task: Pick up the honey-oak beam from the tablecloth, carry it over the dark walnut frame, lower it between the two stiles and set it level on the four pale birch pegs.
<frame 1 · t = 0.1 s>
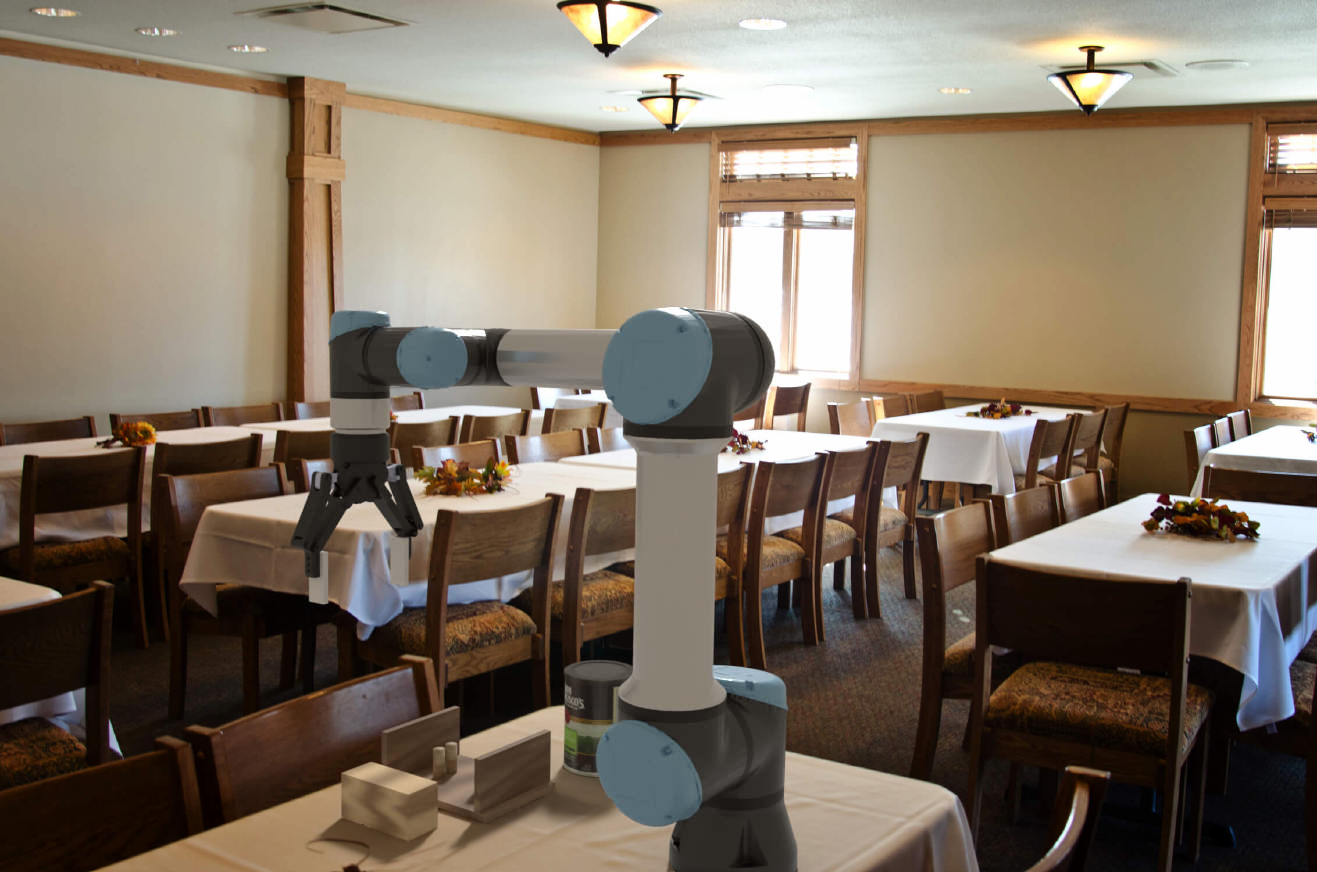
hand: (360, 593, 153), 28 cm above the table, tool pointing down, fingers open, 13 cm apart
coffee can: (598, 766, 170), on the table
beam: (389, 823, 149), on the table
peg frame: (466, 788, 160), on the table
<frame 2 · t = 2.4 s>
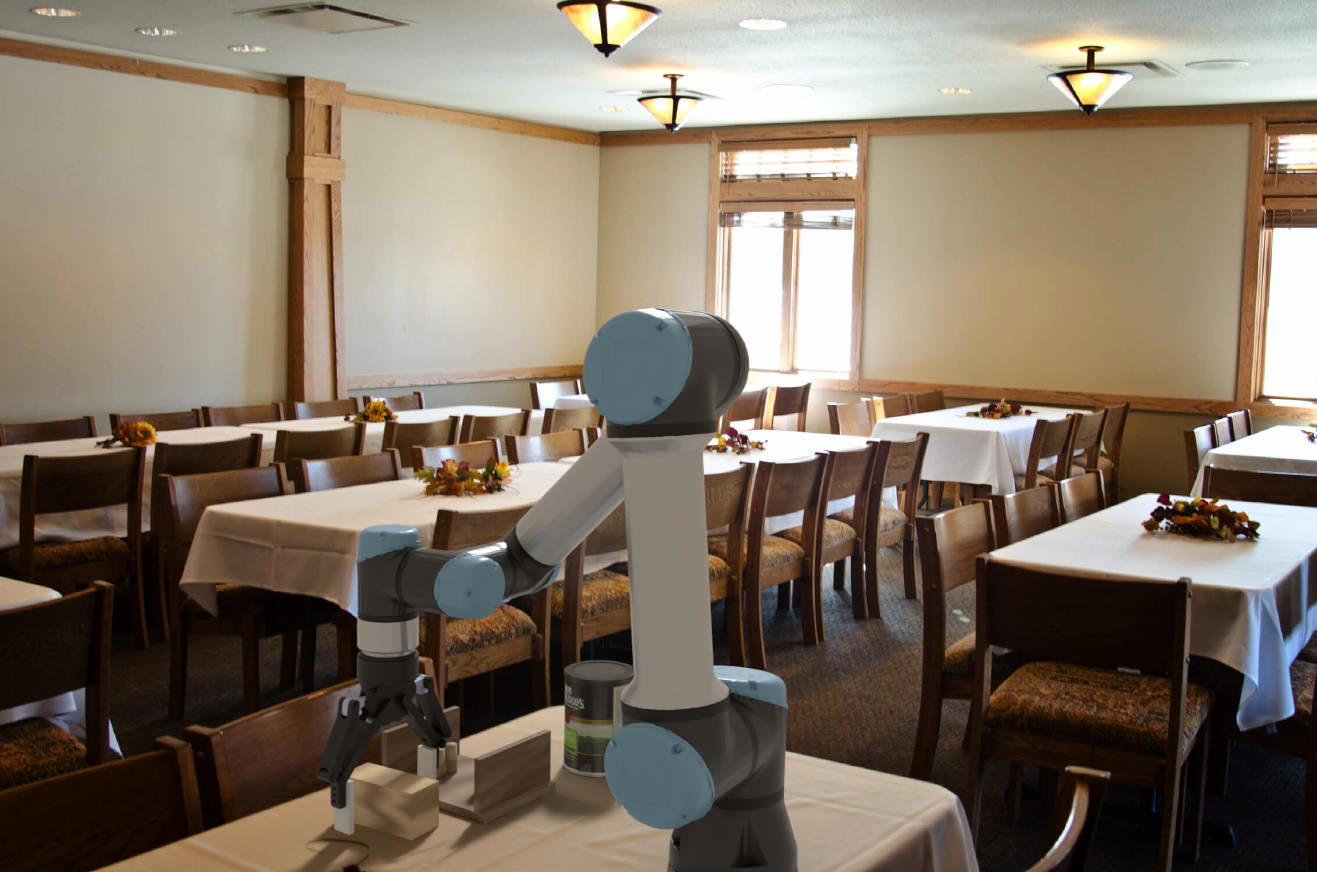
hand: (386, 813, 149), 1 cm above the table, tool pointing down, fingers open, 13 cm apart
nothing on the table moved.
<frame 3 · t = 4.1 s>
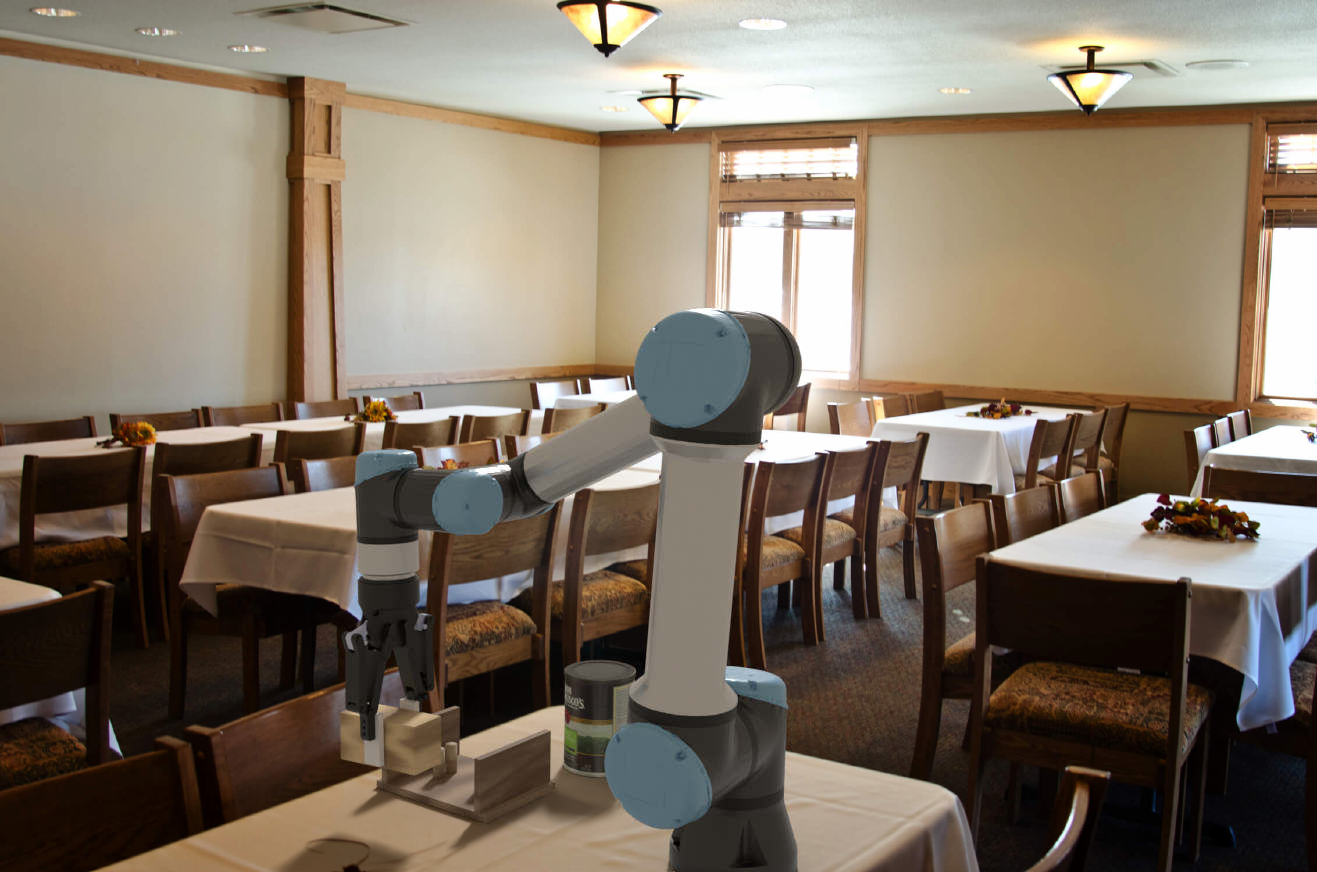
hand: (392, 756, 148), 9 cm above the table, tool pointing down, fingers closed on beam, 5 cm apart
beam: (390, 760, 148), point 8 cm above the table, touching gripper
everything else where it was.
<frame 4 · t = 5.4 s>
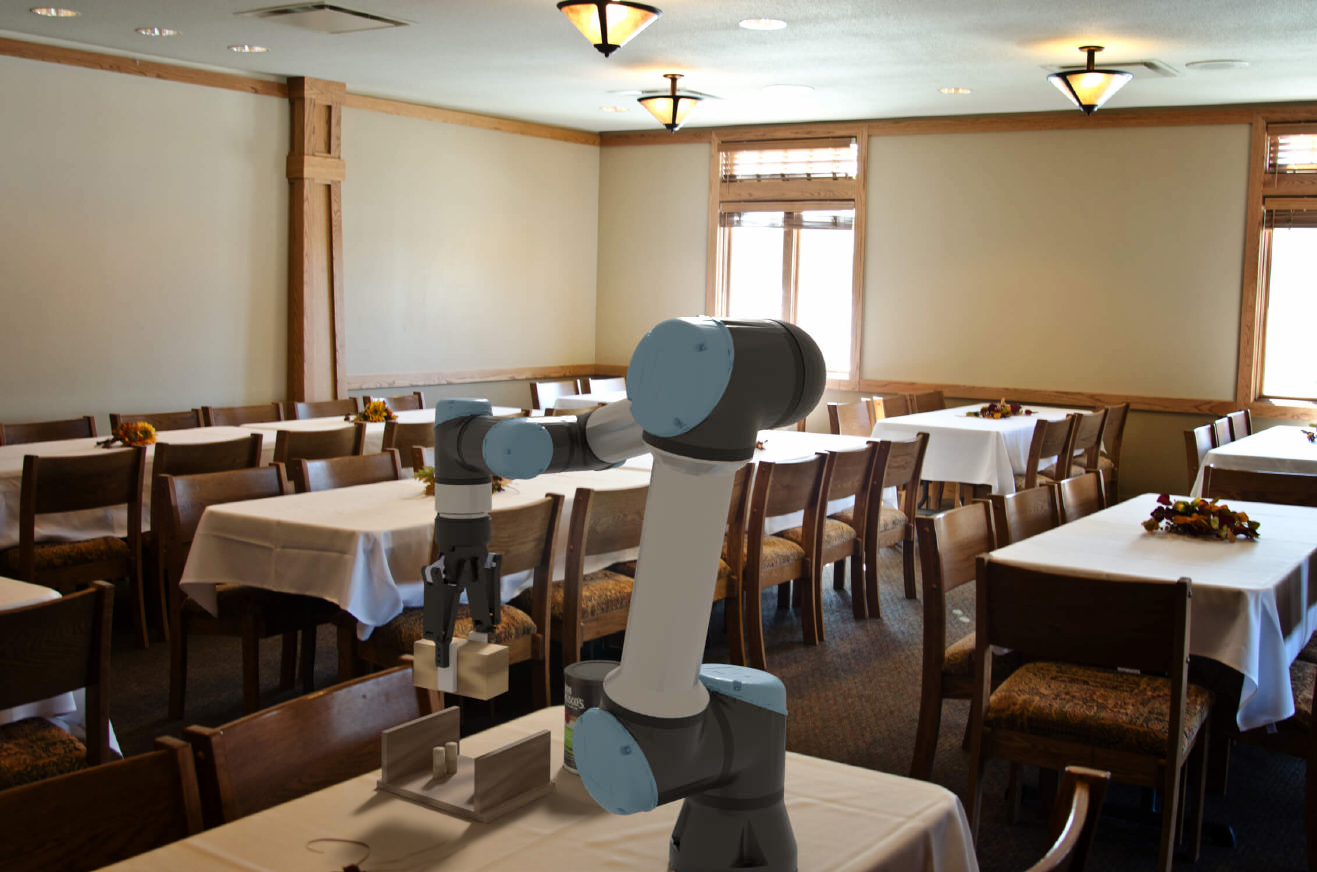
hand: (462, 684, 158), 15 cm above the table, tool pointing down, fingers closed on beam, 5 cm apart
beam: (460, 687, 159), point 14 cm above the table, touching gripper
everything else where it was.
when the fingers open (5 cm above the table, at t = 7.1 s): beam stays where it is, resting on peg frame.
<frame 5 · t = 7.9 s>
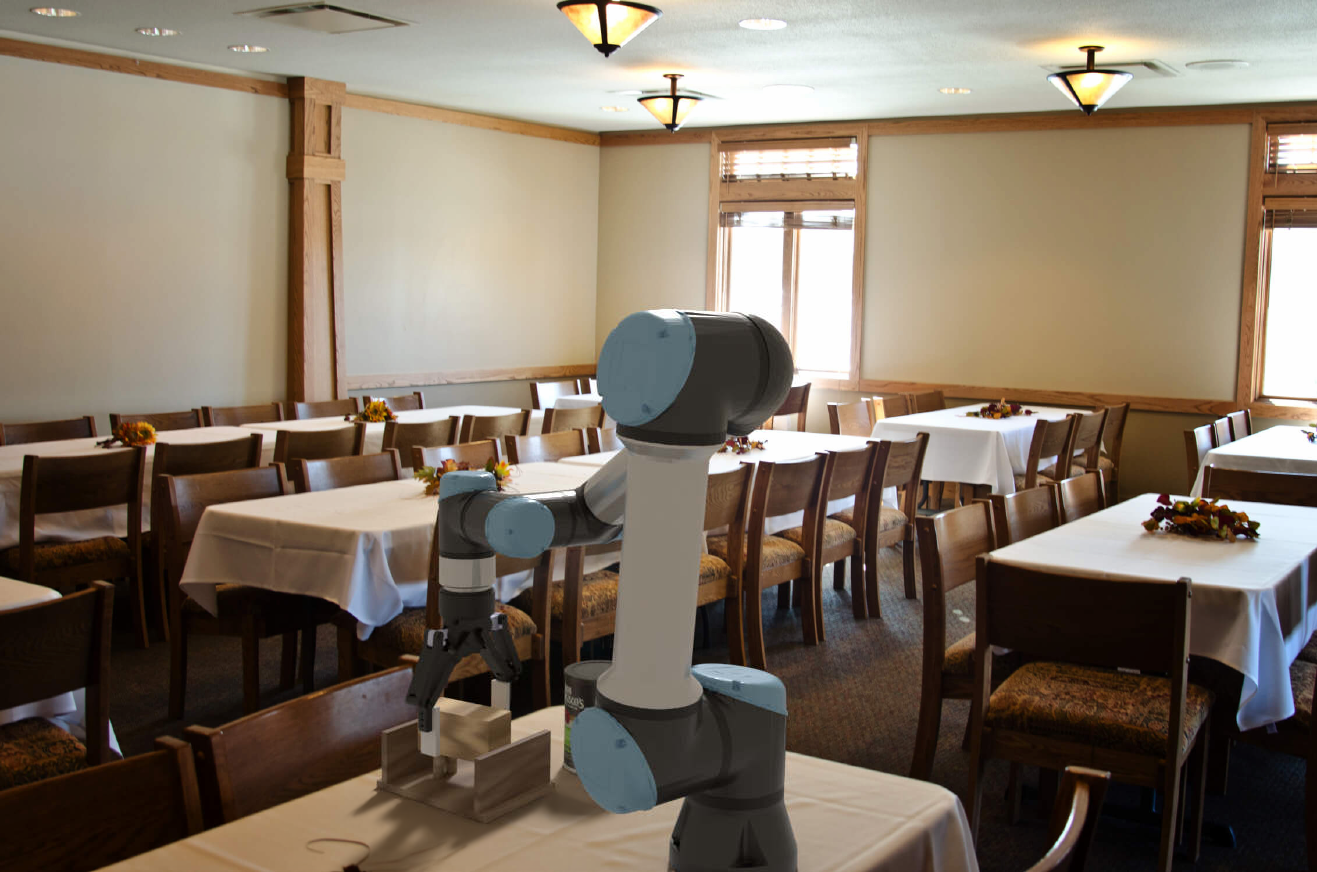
hand: (466, 740, 160), 7 cm above the table, tool pointing down, fingers open, 13 cm apart
beam: (464, 751, 160), point 5 cm above the table, touching peg frame
everything else where it was.
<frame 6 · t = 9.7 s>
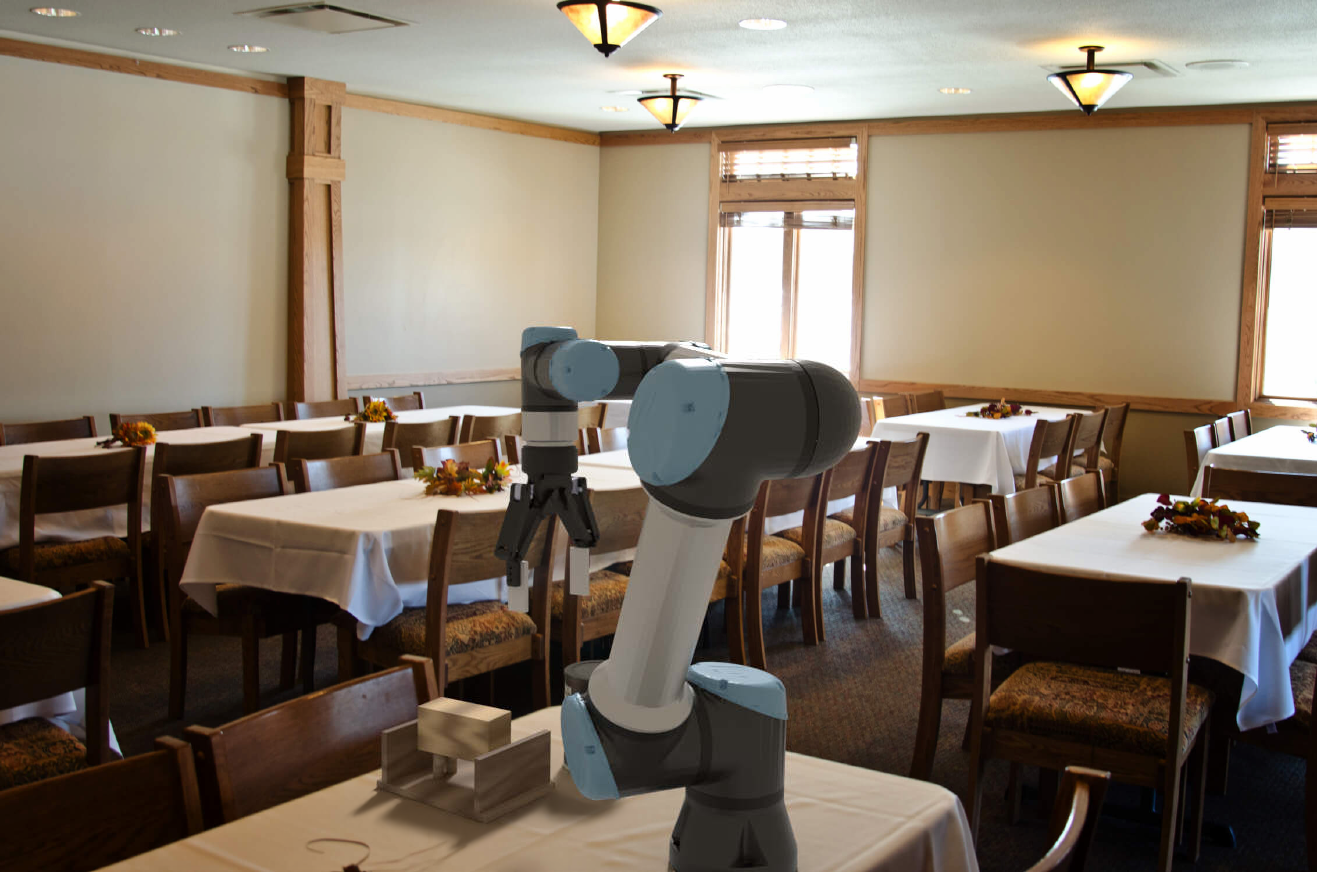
hand: (549, 602, 157), 26 cm above the table, tool pointing down, fingers open, 13 cm apart
nothing on the table moved.
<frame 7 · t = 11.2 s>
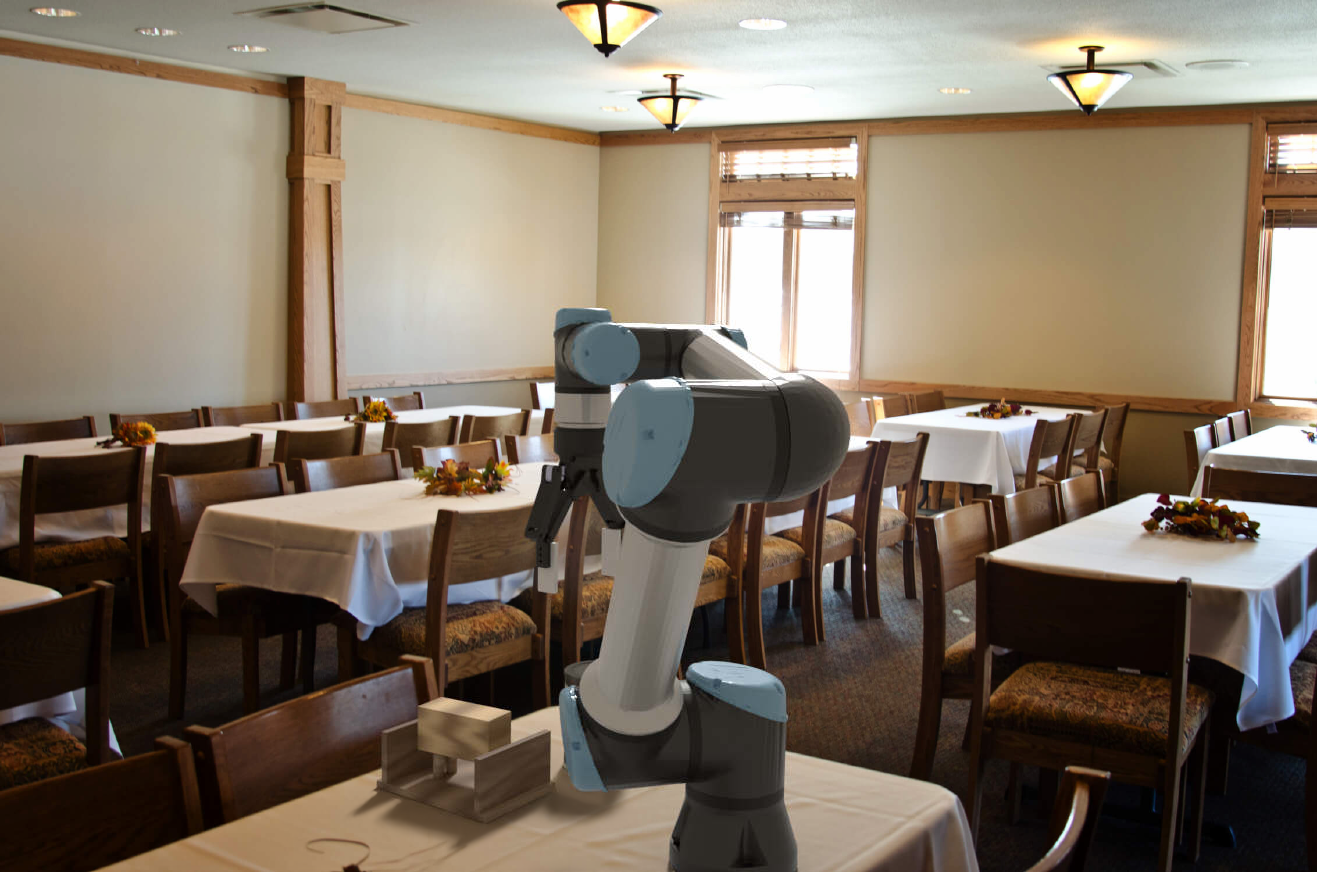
hand: (580, 583, 157), 29 cm above the table, tool pointing down, fingers open, 13 cm apart
nothing on the table moved.
at the end: beam 0.5 cm off-centre on the peg frame, point 5.0 cm above the peg frame's base; beam tilted 0°; the gripper is holding nothing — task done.
